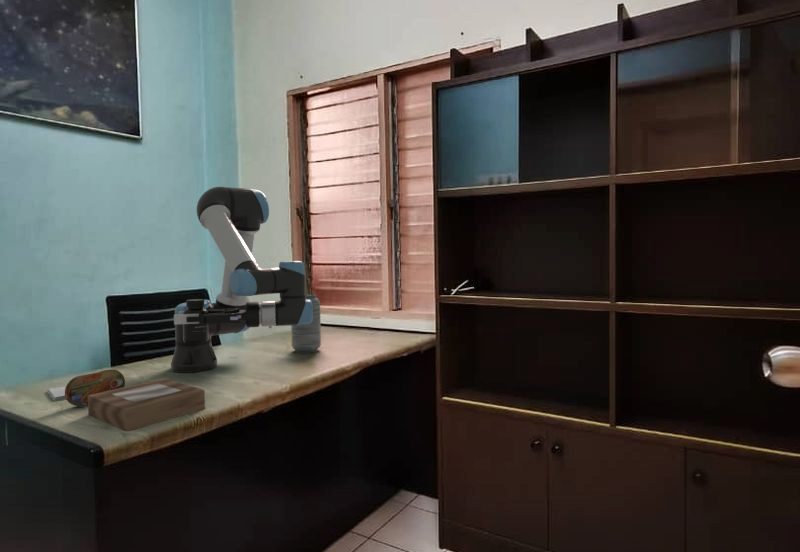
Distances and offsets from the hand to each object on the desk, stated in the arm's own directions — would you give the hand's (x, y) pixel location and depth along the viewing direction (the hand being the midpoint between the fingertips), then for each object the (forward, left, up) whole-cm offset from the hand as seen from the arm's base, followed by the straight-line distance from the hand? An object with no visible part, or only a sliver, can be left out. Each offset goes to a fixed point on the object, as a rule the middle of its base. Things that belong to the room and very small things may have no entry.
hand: (176, 317), depth 144 cm
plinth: (+8, -13, -22) cm, 27 cm away
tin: (-12, -17, -22) cm, 31 cm away
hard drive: (-28, -18, -23) cm, 41 cm away
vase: (-14, +63, -22) cm, 68 cm away
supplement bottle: (+3, +4, -7) cm, 9 cm away
